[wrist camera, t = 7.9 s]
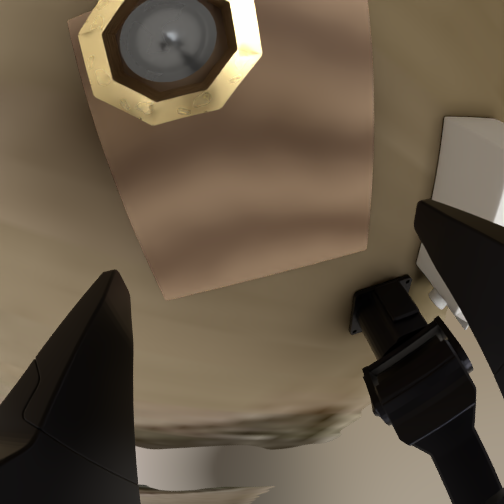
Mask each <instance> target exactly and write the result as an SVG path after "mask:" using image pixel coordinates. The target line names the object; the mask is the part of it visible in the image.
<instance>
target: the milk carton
mask: <svg viewBox="0 0 504 504" xmlns="http://www.w3.org/2000/svg"><path fill="white" fill-rule="evenodd" d="M432 200H435V201H438V202H441V203H443V204H446V205H449V206H452V207H454V208H457V209H460V210H463V211H465V212H468V213H471V214H473V215H476V216H478V217H481V218H483V219H486V220H488V221H491V222H493V223H496V224H498V225H501V226H503V227H504V123H503V122H501V121H499V120H497V119H492V118H476V117H444V125H443V133H442V141H441V148H440V155H439V162H438V168H437V174H436V179H435V185H434V190H433V195H432ZM416 264H417V266H418V267H419V268H420V270H421V271H422V272H423V273H424V275H425V276H426V277H427V278H428V280H429V281H430V282H431V285H432V286H433V287H434V289H433V290H432V291H431V292H430V293H429V297H430V299H431V300H432V301H433V303H434V304H435V305H436V306H437V307H438V308H440V309H443V308H444V307H445V306H446V305H447V306H448V307H449V309H450V310H451V311H452V313H453V314H454V315H455V317H456V318H457V320H458V321H459V322H460V324H461V325H462V327H463V328H464V329H465V330H466V329H467V327H468V326H469V324H468V323H467V321H466V319H465V317H464V315H463V314H462V312H461V310H460V308H459V306H458V305H457V303H456V301H455V300H454V298H453V296H452V294H451V293H450V291H449V289H448V288H447V286H446V284H445V283H444V281H443V280H442V278H441V276H440V275H439V273H438V271H437V270H436V268H435V266H434V264H433V263H432V261H431V259H430V257H429V255H428V253H427V251H426V249H425V247H424V245H423V244H422V243H421V247H420V251H419V254H418V258H417V262H416Z"/></svg>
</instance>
